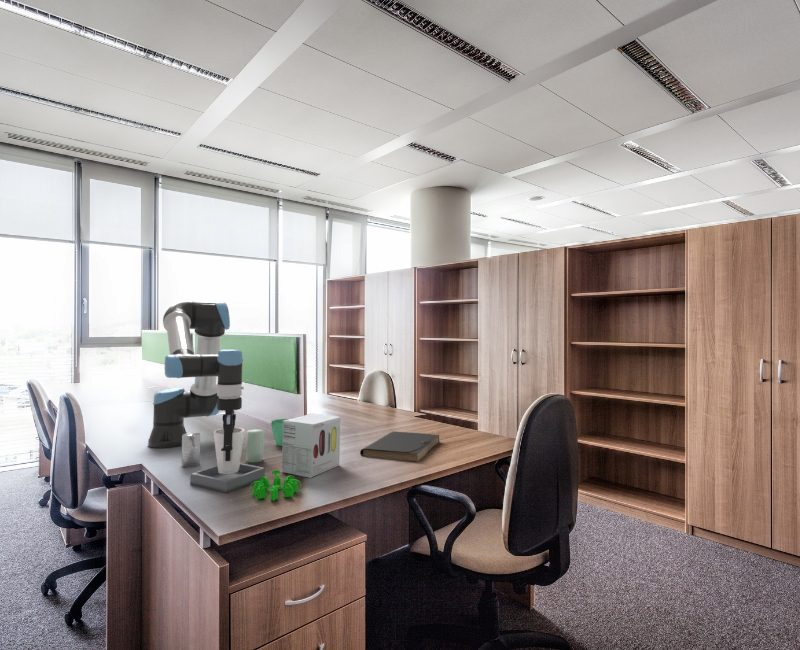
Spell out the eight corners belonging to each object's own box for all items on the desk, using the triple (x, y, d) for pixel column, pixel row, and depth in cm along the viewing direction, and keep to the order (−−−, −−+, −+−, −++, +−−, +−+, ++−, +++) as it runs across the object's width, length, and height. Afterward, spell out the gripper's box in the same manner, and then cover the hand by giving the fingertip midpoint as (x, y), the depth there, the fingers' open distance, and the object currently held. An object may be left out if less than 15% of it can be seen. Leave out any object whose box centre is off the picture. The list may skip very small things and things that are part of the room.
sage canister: (242, 460, 172) (243, 431, 172) (254, 457, 177) (255, 428, 177) (254, 463, 169) (255, 433, 169) (266, 459, 174) (267, 430, 174)
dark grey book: (418, 452, 173) (360, 447, 181) (418, 463, 173) (360, 457, 181) (440, 434, 204) (389, 430, 212) (440, 443, 204) (389, 439, 212)
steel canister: (177, 466, 165) (178, 435, 165) (192, 461, 170) (192, 432, 170) (189, 468, 162) (189, 437, 162) (203, 464, 167) (203, 433, 167)
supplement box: (311, 478, 152) (312, 424, 153) (280, 472, 158) (281, 420, 159) (341, 465, 168) (341, 416, 168) (311, 460, 174) (312, 412, 174)
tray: (190, 484, 145) (190, 473, 145) (230, 471, 159) (230, 461, 160) (226, 493, 138) (226, 481, 138) (264, 478, 152) (264, 467, 152)
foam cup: (249, 470, 149) (249, 430, 149) (222, 477, 142) (222, 435, 142) (234, 464, 155) (235, 426, 156) (207, 470, 149) (208, 430, 149)
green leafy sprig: (301, 484, 147) (301, 463, 147) (300, 502, 133) (300, 478, 133) (253, 487, 144) (253, 465, 145) (246, 505, 130) (246, 480, 130)
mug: (266, 446, 193) (267, 422, 193) (276, 441, 202) (276, 418, 203) (300, 448, 190) (300, 424, 191) (308, 442, 200) (308, 419, 200)
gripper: (241, 401, 140) (239, 475, 139) (242, 392, 161) (241, 456, 160) (214, 402, 137) (213, 477, 137) (219, 392, 158) (218, 457, 158)
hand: (228, 466), depth 149 cm, fingers closed on foam cup, 9 cm apart
